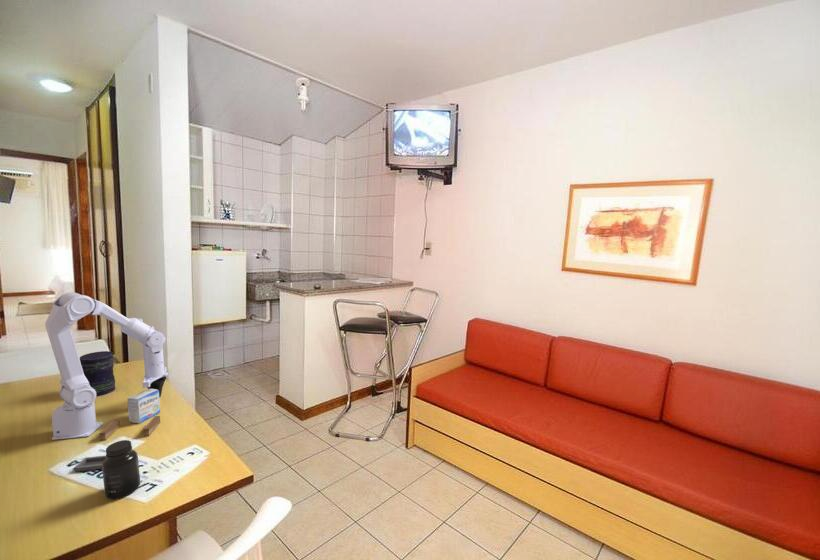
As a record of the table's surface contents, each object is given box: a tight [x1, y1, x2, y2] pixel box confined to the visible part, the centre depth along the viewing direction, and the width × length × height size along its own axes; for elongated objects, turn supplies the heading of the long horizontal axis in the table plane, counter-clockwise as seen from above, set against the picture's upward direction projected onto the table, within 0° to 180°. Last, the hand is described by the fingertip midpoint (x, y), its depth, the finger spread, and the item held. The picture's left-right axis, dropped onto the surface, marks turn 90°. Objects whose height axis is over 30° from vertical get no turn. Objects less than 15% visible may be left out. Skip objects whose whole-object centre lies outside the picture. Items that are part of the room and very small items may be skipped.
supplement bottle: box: [101, 439, 141, 500], centre depth 86 cm, size 7×7×12 cm
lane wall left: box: [99, 418, 121, 442], centre depth 111 cm, size 2×8×2 cm, turn 14°
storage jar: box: [79, 350, 116, 398], centre depth 137 cm, size 10×10×15 cm
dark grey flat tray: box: [74, 455, 107, 473], centre depth 96 cm, size 9×4×1 cm, turn 104°
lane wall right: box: [142, 415, 161, 437], centre depth 113 cm, size 2×8×2 cm, turn 14°
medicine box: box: [126, 388, 161, 424], centre depth 120 cm, size 8×4×9 cm, turn 168°
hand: (156, 397), depth 129 cm, fingers closed
